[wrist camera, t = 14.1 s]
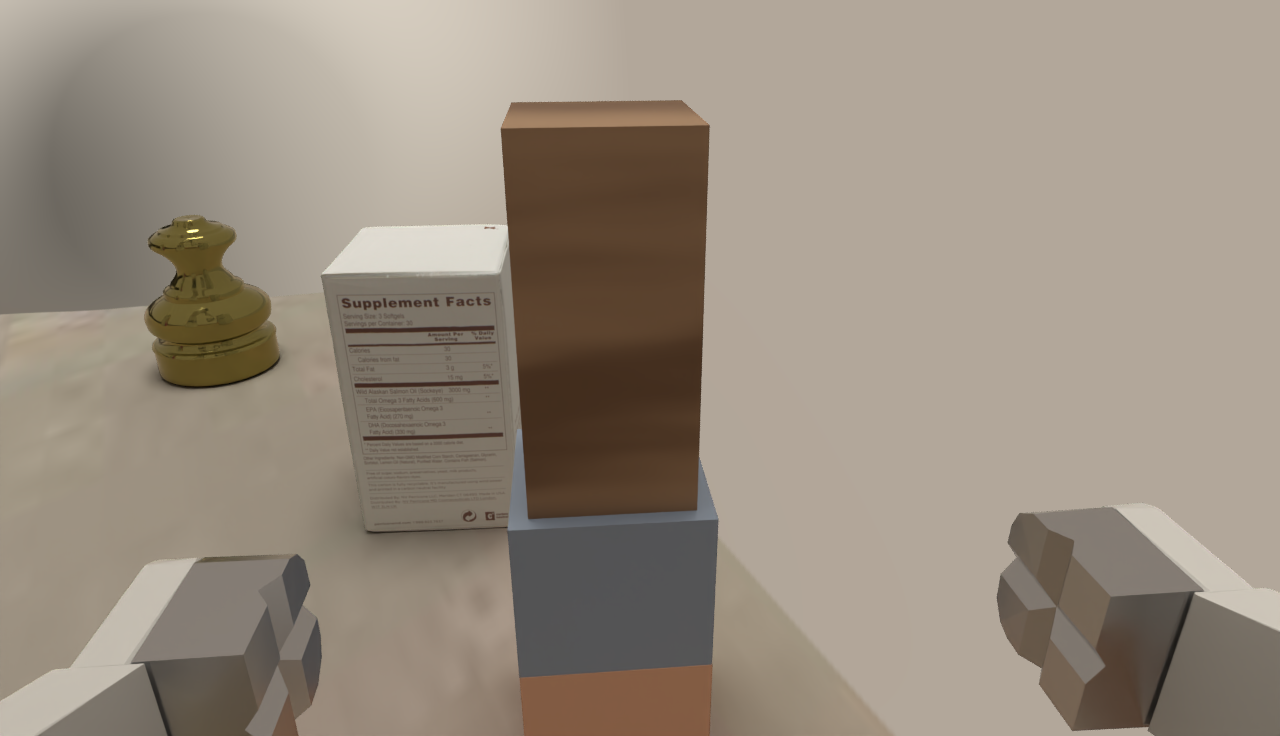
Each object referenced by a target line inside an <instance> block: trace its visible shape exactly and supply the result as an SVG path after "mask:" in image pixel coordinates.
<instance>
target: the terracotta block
mask: <svg viewBox="0 0 1280 736" xmlns="http://www.w3.org/2000/svg"><path fill="white" fill-rule="evenodd" d="M711 685H712V665H698V666H683V667H669V668H654V669H640V670H625V671H611V672H596V673H582V674H567V675H552V676H538V677H523V678H520V687H521V699H522V711H523V723H524V735H525V736H709V731H710V708H711Z"/></svg>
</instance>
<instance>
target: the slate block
mask: <svg viewBox="0 0 1280 736" xmlns="http://www.w3.org/2000/svg"><path fill="white" fill-rule="evenodd" d="M717 540H718V516H717V513H716V510H715V507H714V504H713V500H712V497H711V494H710V491H709V487H708V484H707V481H706V478H705V474H704V471H703V468H702V465H701V461H700V458H699V469H698V500H697V510H694V511H675V512H656V513H637V514H618V515H599V516H580V517H561V518H542V519H528V512H527V498H526V483H525V469H524V454H523V440H522V429H517V435H516V445H515V456H514V467H513V478H512V489H511V499H510V510H509V521H508V542H509V555H510V567H511V579H512V592H513V604H514V616H515V629H516V641H517V654H518V666H519V678H523V677H538V676H552V675H567V674H582V673H596V672H611V671H625V670H640V669H654V668H669V667H683V666H698V665H712V651H713V629H714V606H715V584H716V562H717Z"/></svg>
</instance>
